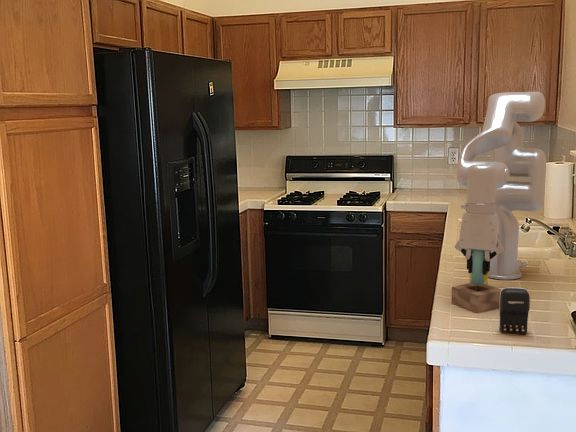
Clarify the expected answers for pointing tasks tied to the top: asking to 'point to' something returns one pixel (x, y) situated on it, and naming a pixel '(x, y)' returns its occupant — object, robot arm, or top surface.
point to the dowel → (477, 267)
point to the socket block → (476, 297)
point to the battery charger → (514, 310)
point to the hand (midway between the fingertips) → (478, 272)
